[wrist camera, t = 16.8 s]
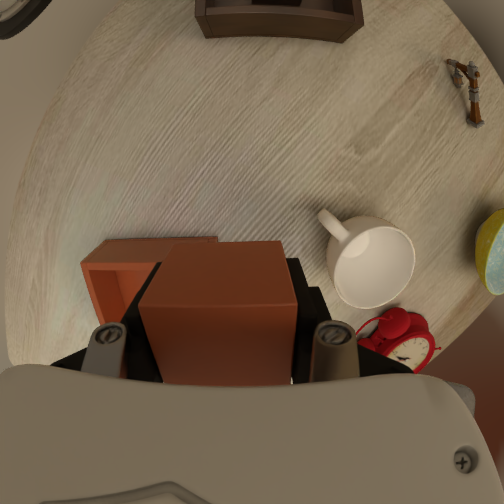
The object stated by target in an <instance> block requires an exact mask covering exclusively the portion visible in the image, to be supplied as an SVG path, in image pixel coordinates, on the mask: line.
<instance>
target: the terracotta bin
mask: <svg viewBox="0 0 504 504" xmlns="http://www.w3.org/2000/svg"><path fill="white" fill-rule="evenodd" d="M215 242H218V237H178V238H143V239H114V240H104V241H103V242H102V243H101V244H100V245H99V246H98V247H97V248H95V249H94V250H93V251H92V252H91V253H90V254H89V255H88V256H87V257H86V258H84V259H83V260H82V261H81V262H80V264H81V268H82V272H83V275H84V278H85V282H86V285H87V288H88V291H89V294H90V297H91V300H92V303H93V306H94V309H95V312H96V315H97V317H98V320H99V323H100V325H102V324H105V323H109V322H119V323H120V321H121V319H122V317H123V316H124V314H125V312H126V311H127V309H128V307H129V305H130V304H131V302H132V300H133V299H134V297H135V295H136V294H137V292H138V291H139V290H140V289H141V287H142V285H143V284H144V282H145V280H146V279H147V277H148V276H149V274H150V272H151V271H152V269H153V268H154V266H155V264H156V263H157V262H163V261H164V259H165V257H166V256H167V254H168V252H169V251H170V249H171V248H172V246H173V245H174V244H188V243H215Z"/></svg>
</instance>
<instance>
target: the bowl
mask: <svg viewBox="0 0 504 504" xmlns="http://www.w3.org/2000/svg"><path fill="white" fill-rule="evenodd" d="M475 245H476V248H475V262H476V268H477V272H478V274H479V277H480V279H481V281H482V283H483V284H484V286H485V287H486V288H487V290H488V291H489V292H490V293H492V294H494V295H501V294H503V293H504V208H503V209H500V210H498V211H496V212H495V213H493V214H492V215H491V216H490V217H489V218H488V219H487V220H486V221H484V222H483V223H482V224H481V225H480V227H479V228H478V230H477V233H476V237H475Z"/></svg>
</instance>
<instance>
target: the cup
mask: <svg viewBox="0 0 504 504" xmlns="http://www.w3.org/2000/svg"><path fill="white" fill-rule="evenodd" d="M317 218H318V220H319V221H320V222H321V224H322V225H323V226H324V227H325V228H326V229H327V230H328V231H329V232H330V233H331V234H332V235H331V237H330V239H329V242H328V246H327V252H326V263H327V269H328V273H329V276H330V279H331V281H332V284H333V286H334V288H335V290H336V292H337V294H338V295H339V297H340V298H341V299H342V300H343V301H344V302H345V303H347V304H348V305H350V306H352V307H355V308H360V309H370V308H376V307H379V306H382V305H384V304H386V303H388V302H390V301H391V300H393V299H394V298H395V297H397V296H398V295H399V294H400V293H401V292H402V291H403V289H404V288H405V287H406V285H407V284H408V282H409V281H410V279H411V276H412V274H413V271H414V267H415V250H414V246H413V244H412V242H411V240H410V238H409V237H408V236H407V235H406V234H405V233H404V232H403V231H401V230H400V229H399V228H397V227H396V226H395V225H393V224H392V223H390V222H388V221H386V220H384V219H382V218H379V217H375V216H367V215H365V216H356V217H352V218H350V219H347V220H345V221H343V222H340V221H339V220H338V219H337V218H336V217H335V216H334V215H333V214H331V213H330V212H329V211H328V210H327V209H322V210H321V211H320V212H319V213H318V214H317Z"/></svg>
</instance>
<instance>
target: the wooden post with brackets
mask: <svg viewBox="0 0 504 504" xmlns="http://www.w3.org/2000/svg"><path fill="white" fill-rule="evenodd" d="M447 64H449V65H452V67H454V68H455V71H453V72H455V74H453V75H451V76H453V77H454V83H453V84H456V86H457V88H461V85H463V82H462V77H463V76H462V75H460V74H459V73H458V72H459V71H458V70H457V68H458V69H460V70H461V71H462V72H463V73H464V75H465V76H466V77H467V78H468V80H469V82H470V86H468V89H470V90H469V100H471V111H470V118H468V119H467V123H469V124H470V125H472V126H474V127H475V128H477V129H478V128H479V127H481V126H483V125H484V124H485V123H484V121H483V120H482V119H481V116H480V110H479V103H478V101H480V100H479V92H478V90H479V87H478V84H477V78H479V77H480V74H479V72H478V67H476V66H475V64H474V62H473V61H469V65H467V66H465V65H463V64H461V63H459V62H458V61H456V60H451V59H447ZM466 72H468V74H467V73H466Z"/></svg>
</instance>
